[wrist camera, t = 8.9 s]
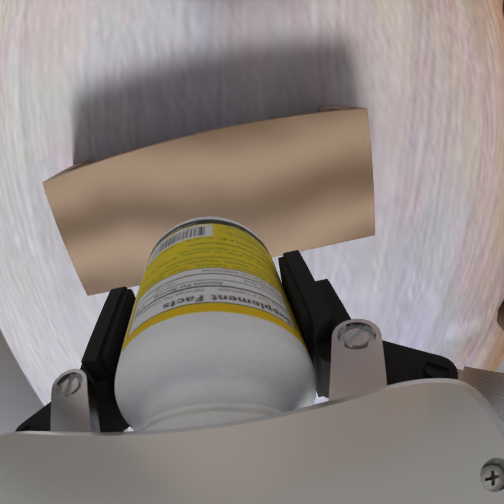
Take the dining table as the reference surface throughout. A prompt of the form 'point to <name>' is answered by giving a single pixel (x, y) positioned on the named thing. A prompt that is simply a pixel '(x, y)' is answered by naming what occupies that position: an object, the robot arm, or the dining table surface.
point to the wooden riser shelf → (219, 191)
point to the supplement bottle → (211, 333)
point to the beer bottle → (501, 316)
